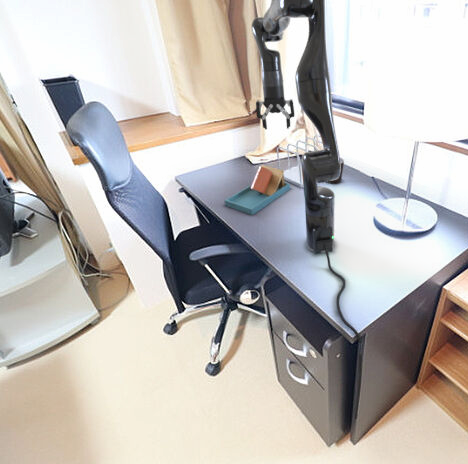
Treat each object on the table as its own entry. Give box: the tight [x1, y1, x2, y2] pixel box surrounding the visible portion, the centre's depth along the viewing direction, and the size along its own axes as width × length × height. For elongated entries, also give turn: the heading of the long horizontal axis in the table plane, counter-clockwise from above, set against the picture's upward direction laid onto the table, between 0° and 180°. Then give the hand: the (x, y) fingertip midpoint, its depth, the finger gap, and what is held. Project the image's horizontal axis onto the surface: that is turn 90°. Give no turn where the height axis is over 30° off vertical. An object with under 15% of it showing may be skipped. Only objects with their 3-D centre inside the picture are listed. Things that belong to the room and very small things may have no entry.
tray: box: [224, 181, 291, 216], centre depth 137 cm, size 26×15×3 cm, turn 148°
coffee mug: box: [327, 157, 345, 185], centre depth 147 cm, size 12×9×10 cm
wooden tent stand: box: [252, 164, 285, 196], centre depth 139 cm, size 10×12×9 cm
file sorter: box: [276, 134, 323, 188], centre depth 151 cm, size 25×17×16 cm
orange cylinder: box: [250, 166, 273, 195], centre depth 136 cm, size 12×6×12 cm, turn 148°
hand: (277, 128), depth 125 cm, fingers open, 8 cm apart
